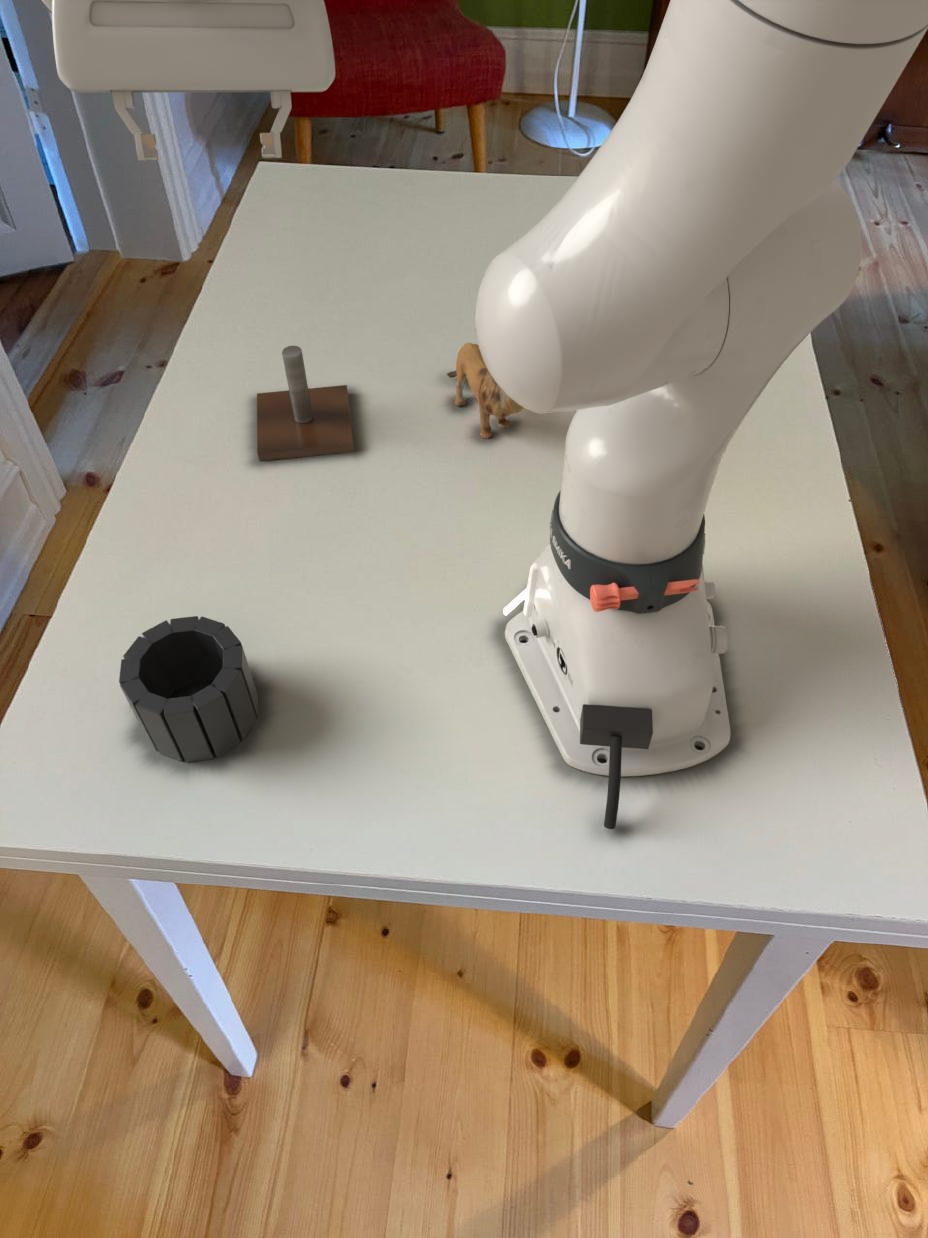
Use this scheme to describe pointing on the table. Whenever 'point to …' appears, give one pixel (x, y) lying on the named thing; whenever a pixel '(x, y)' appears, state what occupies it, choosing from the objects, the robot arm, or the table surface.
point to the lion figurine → (482, 389)
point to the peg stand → (302, 416)
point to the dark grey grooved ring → (177, 662)
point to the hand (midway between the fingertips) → (211, 159)
